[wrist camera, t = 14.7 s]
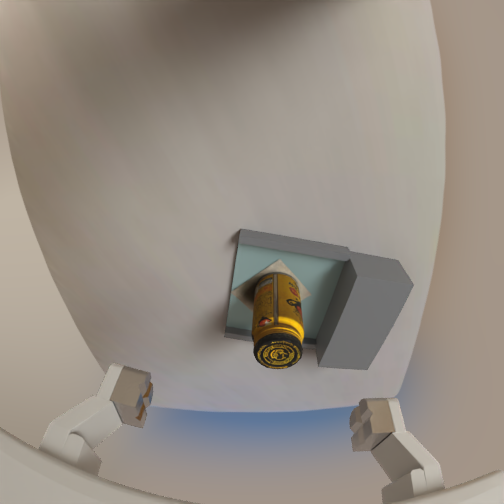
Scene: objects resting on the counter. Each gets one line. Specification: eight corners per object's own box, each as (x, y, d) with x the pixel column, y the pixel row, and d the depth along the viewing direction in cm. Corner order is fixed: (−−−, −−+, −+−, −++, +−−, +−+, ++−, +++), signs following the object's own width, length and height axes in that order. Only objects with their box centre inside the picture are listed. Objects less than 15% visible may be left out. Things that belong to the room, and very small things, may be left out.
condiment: (311, 293, 41) (321, 358, 31) (263, 322, 44) (260, 387, 34) (280, 257, 39) (282, 320, 29) (230, 290, 42) (218, 355, 31)
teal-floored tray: (240, 228, 38) (235, 251, 33) (399, 257, 39) (415, 281, 33) (225, 328, 46) (220, 356, 41) (358, 344, 47) (365, 372, 42)
